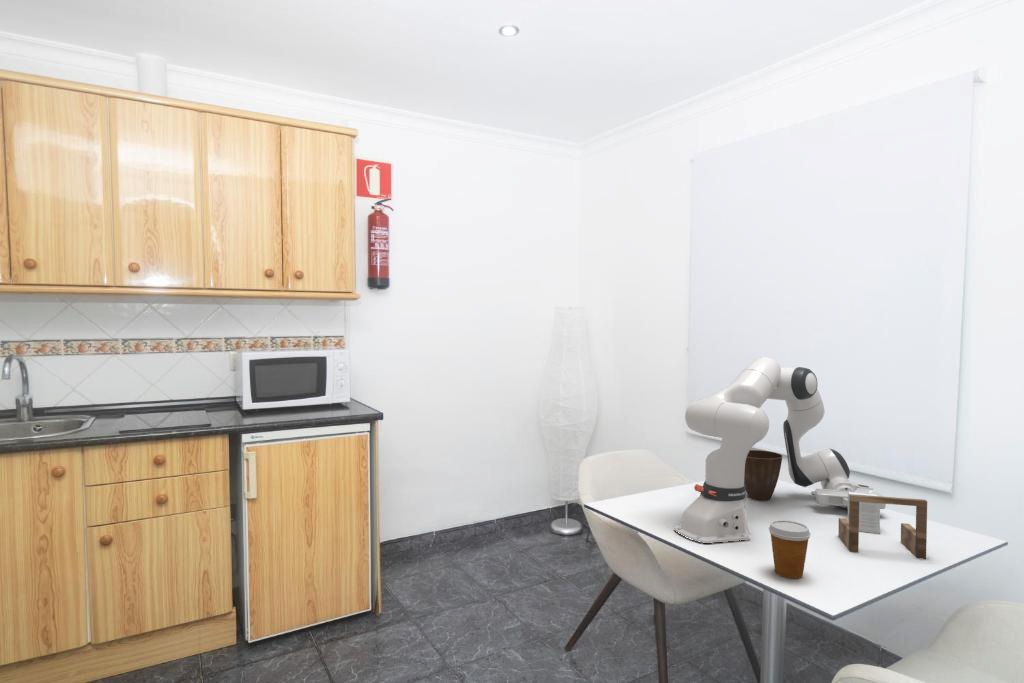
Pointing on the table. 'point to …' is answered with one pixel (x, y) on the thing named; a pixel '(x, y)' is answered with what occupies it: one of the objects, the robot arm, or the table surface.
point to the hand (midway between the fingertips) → (855, 505)
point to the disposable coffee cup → (789, 547)
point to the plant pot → (761, 474)
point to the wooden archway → (909, 535)
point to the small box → (868, 515)
